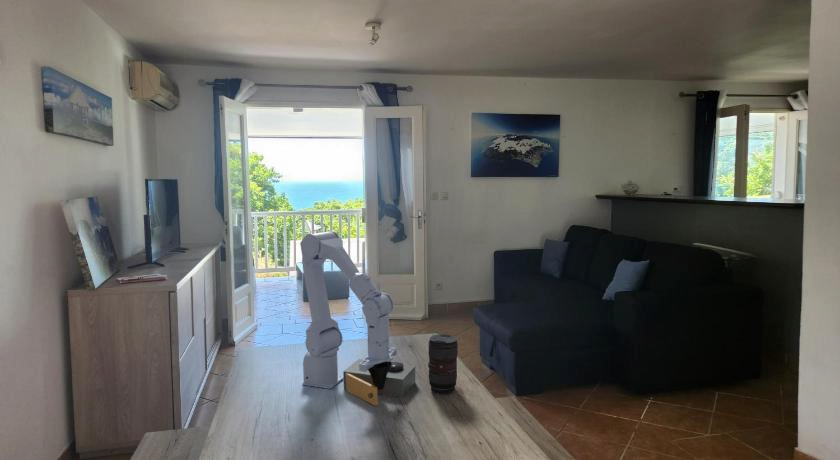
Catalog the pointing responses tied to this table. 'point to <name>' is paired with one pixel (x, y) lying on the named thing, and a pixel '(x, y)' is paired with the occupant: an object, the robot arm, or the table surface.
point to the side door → (361, 389)
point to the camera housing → (387, 378)
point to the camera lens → (443, 363)
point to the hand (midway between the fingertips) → (379, 388)
